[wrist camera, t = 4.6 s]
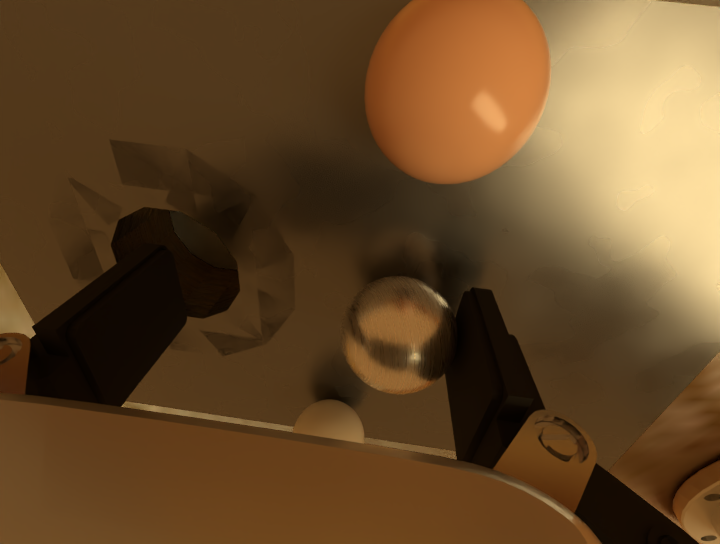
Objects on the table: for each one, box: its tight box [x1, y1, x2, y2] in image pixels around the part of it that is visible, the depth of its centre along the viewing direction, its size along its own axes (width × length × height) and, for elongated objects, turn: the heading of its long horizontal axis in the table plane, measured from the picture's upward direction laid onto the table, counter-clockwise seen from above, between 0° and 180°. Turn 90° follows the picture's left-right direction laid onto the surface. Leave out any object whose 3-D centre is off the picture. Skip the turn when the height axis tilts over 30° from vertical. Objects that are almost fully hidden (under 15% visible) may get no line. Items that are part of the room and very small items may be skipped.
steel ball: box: [340, 276, 458, 394], centre depth 10 cm, size 4×4×4 cm
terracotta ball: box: [364, 0, 551, 184], centre depth 7 cm, size 4×4×4 cm
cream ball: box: [293, 399, 364, 443], centre depth 14 cm, size 3×3×3 cm
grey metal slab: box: [0, 0, 720, 471], centre depth 13 cm, size 26×17×4 cm, turn 85°
